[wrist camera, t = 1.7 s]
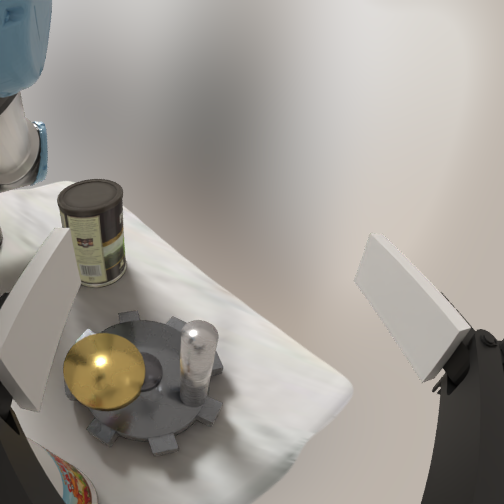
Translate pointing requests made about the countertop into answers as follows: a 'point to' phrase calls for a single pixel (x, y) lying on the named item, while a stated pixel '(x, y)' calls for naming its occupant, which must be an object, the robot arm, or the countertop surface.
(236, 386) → the countertop surface
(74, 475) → the milk bottle
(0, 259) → the countertop surface
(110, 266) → the coffee can
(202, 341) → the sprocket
